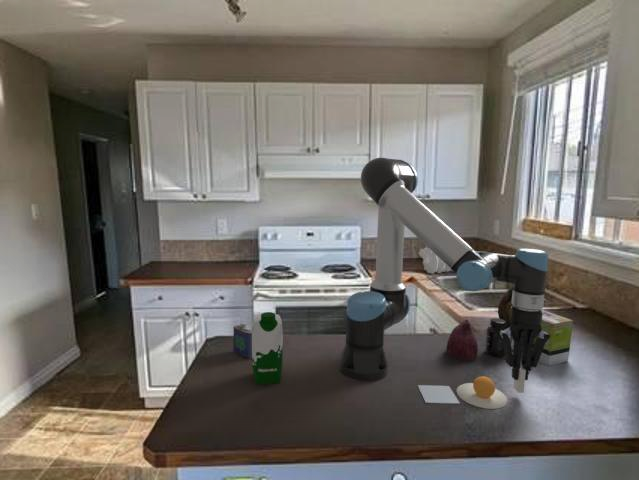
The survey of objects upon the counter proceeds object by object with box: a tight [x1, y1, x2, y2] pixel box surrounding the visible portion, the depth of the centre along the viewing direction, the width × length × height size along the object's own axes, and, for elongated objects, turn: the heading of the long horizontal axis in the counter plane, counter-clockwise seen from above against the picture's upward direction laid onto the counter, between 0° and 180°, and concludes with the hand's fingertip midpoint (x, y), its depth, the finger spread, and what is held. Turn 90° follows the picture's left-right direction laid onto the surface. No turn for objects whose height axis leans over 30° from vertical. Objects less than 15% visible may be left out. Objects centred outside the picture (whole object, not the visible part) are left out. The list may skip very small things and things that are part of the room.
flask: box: [232, 323, 252, 360], centre depth 130 cm, size 9×3×11 cm, turn 50°
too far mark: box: [417, 384, 461, 405], centre depth 109 cm, size 9×9×1 cm
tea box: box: [511, 308, 574, 366], centre depth 136 cm, size 15×10×15 cm, turn 23°
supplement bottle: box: [484, 317, 506, 359], centre depth 136 cm, size 7×7×12 cm
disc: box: [456, 382, 508, 410], centre depth 109 cm, size 13×13×1 cm
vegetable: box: [445, 318, 479, 362], centre depth 133 cm, size 10×10×15 cm
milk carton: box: [251, 311, 284, 386], centre depth 114 cm, size 9×9×20 cm
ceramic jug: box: [497, 285, 513, 329], centre depth 157 cm, size 17×15×30 cm
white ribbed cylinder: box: [418, 246, 453, 275], centre depth 261 cm, size 18×18×25 cm
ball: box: [472, 375, 496, 398], centre depth 108 cm, size 6×6×6 cm
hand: (518, 390), depth 109 cm, fingers closed
